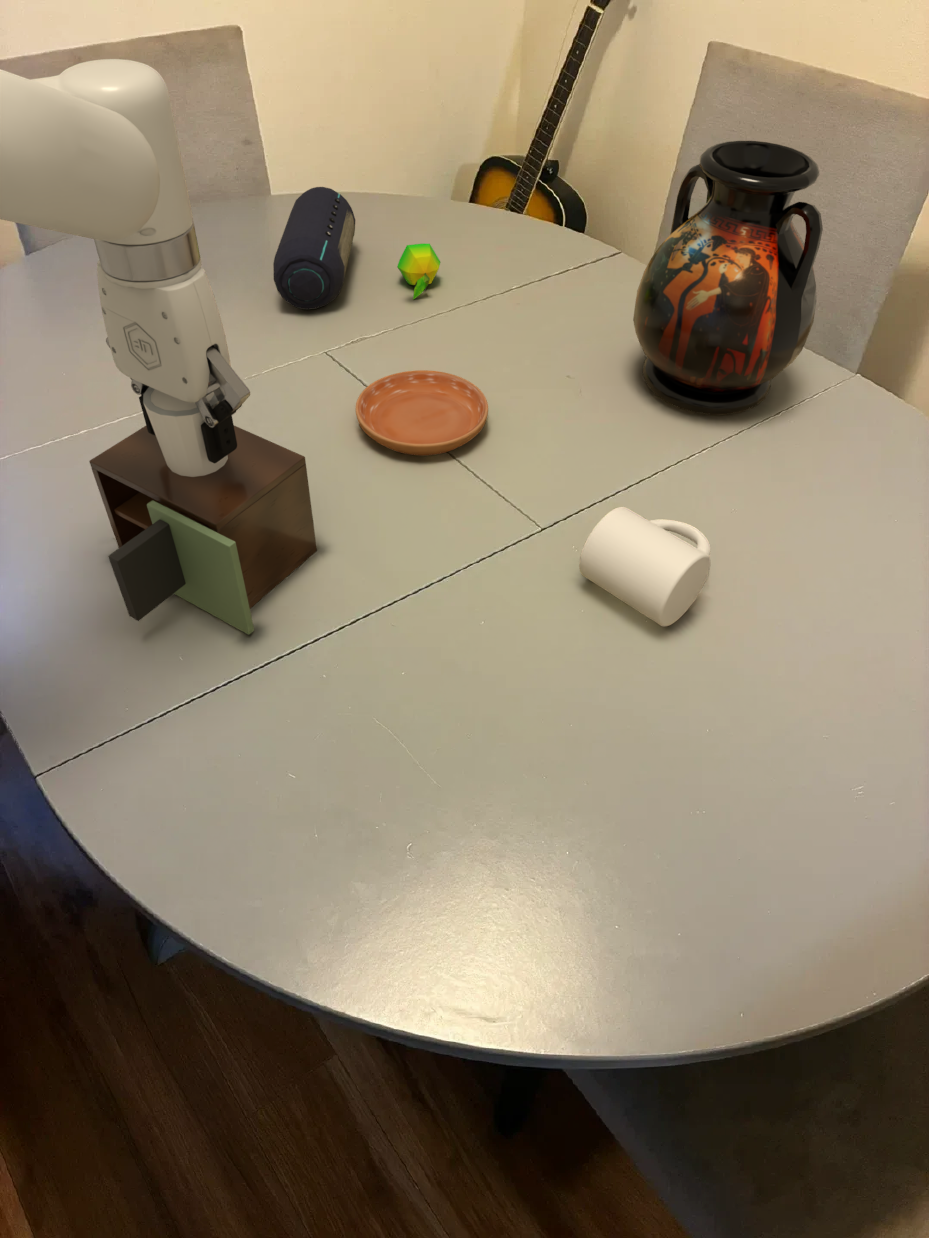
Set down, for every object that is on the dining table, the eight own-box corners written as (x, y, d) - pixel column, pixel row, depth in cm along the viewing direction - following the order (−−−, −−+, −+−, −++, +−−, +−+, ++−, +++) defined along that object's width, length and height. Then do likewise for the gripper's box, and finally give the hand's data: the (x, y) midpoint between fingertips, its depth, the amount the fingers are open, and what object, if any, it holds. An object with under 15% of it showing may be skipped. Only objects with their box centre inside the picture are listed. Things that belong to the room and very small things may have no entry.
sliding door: (203, 675, 80) (177, 587, 72) (125, 630, 84) (92, 540, 76) (254, 630, 84) (235, 541, 76) (178, 588, 88) (152, 499, 80)
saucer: (423, 482, 101) (423, 461, 99) (329, 426, 108) (327, 404, 106) (514, 425, 109) (515, 404, 107) (421, 376, 116) (421, 355, 114)
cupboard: (237, 619, 85) (215, 524, 77) (121, 556, 91) (88, 460, 82) (317, 550, 92) (305, 456, 84) (204, 495, 98) (182, 402, 89)
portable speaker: (343, 320, 126) (338, 250, 119) (273, 318, 126) (263, 248, 119) (359, 244, 143) (356, 179, 136) (297, 242, 143) (290, 177, 136)
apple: (410, 224, 131) (428, 249, 125) (441, 249, 135) (459, 274, 130) (381, 264, 134) (397, 290, 128) (412, 286, 138) (429, 313, 132)
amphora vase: (588, 377, 117) (620, 151, 97) (691, 328, 127) (740, 113, 107) (718, 453, 106) (785, 215, 86) (820, 392, 116) (902, 166, 96)
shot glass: (210, 488, 80) (195, 422, 75) (144, 470, 82) (126, 405, 76) (248, 446, 85) (236, 382, 79) (186, 431, 86) (170, 366, 81)
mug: (654, 641, 85) (670, 581, 79) (573, 589, 89) (583, 529, 84) (723, 581, 91) (742, 521, 85) (644, 535, 96) (658, 475, 90)
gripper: (34, 237, 70) (95, 429, 82) (195, 298, 63) (235, 496, 76) (108, 206, 74) (156, 393, 87) (266, 261, 68) (292, 453, 81)
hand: (192, 439), depth 81 cm, fingers closed on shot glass, 6 cm apart
